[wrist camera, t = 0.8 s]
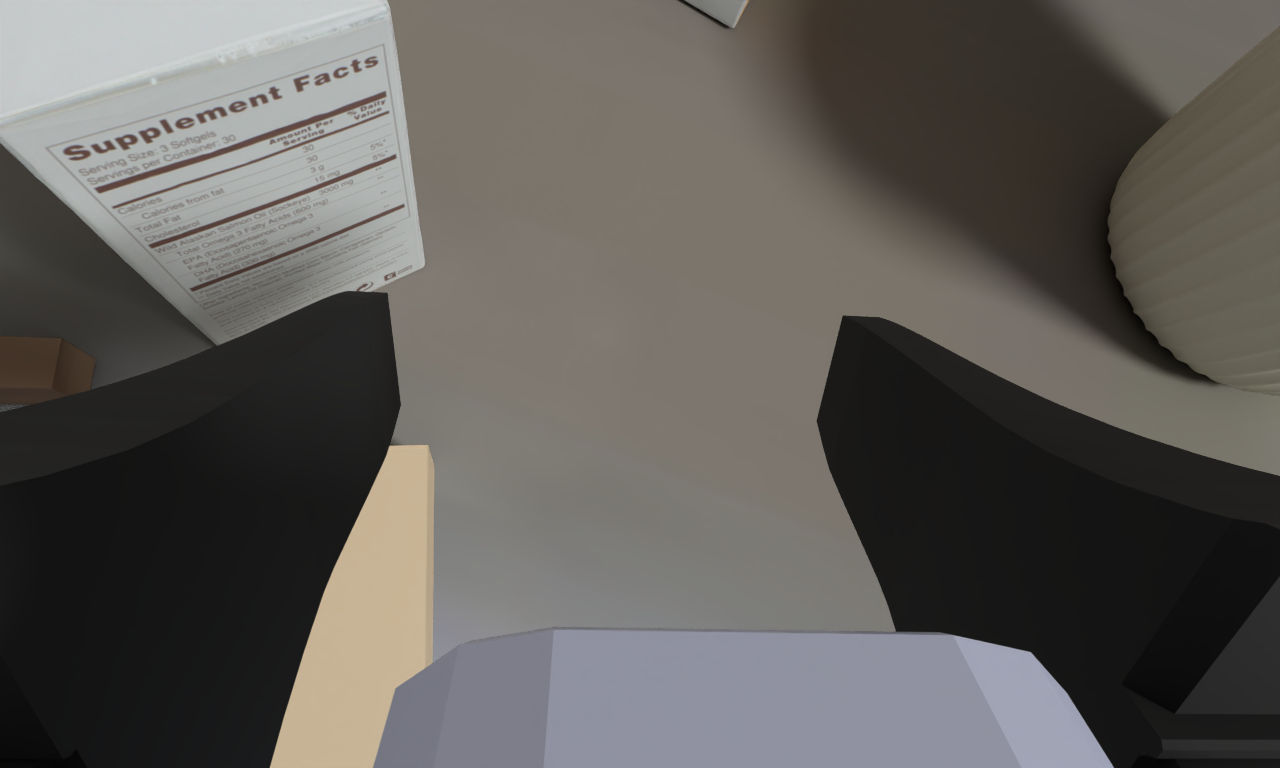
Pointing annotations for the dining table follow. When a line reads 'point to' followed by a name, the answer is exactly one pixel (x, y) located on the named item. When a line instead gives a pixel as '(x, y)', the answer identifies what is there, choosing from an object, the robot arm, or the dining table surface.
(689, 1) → the small box
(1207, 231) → the canister
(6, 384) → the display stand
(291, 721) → the kraft carton
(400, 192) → the supplement box
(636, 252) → the dining table surface
